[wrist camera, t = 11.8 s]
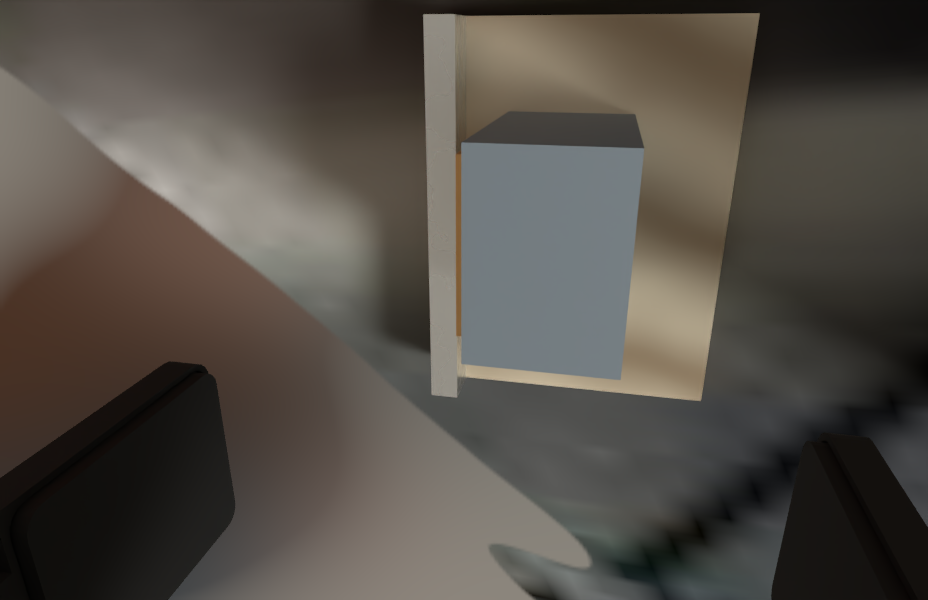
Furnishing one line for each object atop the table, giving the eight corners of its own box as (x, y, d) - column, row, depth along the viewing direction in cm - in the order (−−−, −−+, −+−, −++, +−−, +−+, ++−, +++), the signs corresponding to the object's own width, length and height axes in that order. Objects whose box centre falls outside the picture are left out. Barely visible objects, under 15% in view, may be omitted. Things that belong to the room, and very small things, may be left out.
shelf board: (697, 385, 31) (706, 424, 28) (449, 360, 33) (431, 394, 30) (751, 14, 25) (771, 10, 22) (445, 17, 27) (423, 14, 24)
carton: (635, 114, 26) (644, 148, 17) (619, 281, 28) (620, 380, 20) (499, 111, 27) (447, 142, 18) (495, 272, 29) (449, 362, 21)
